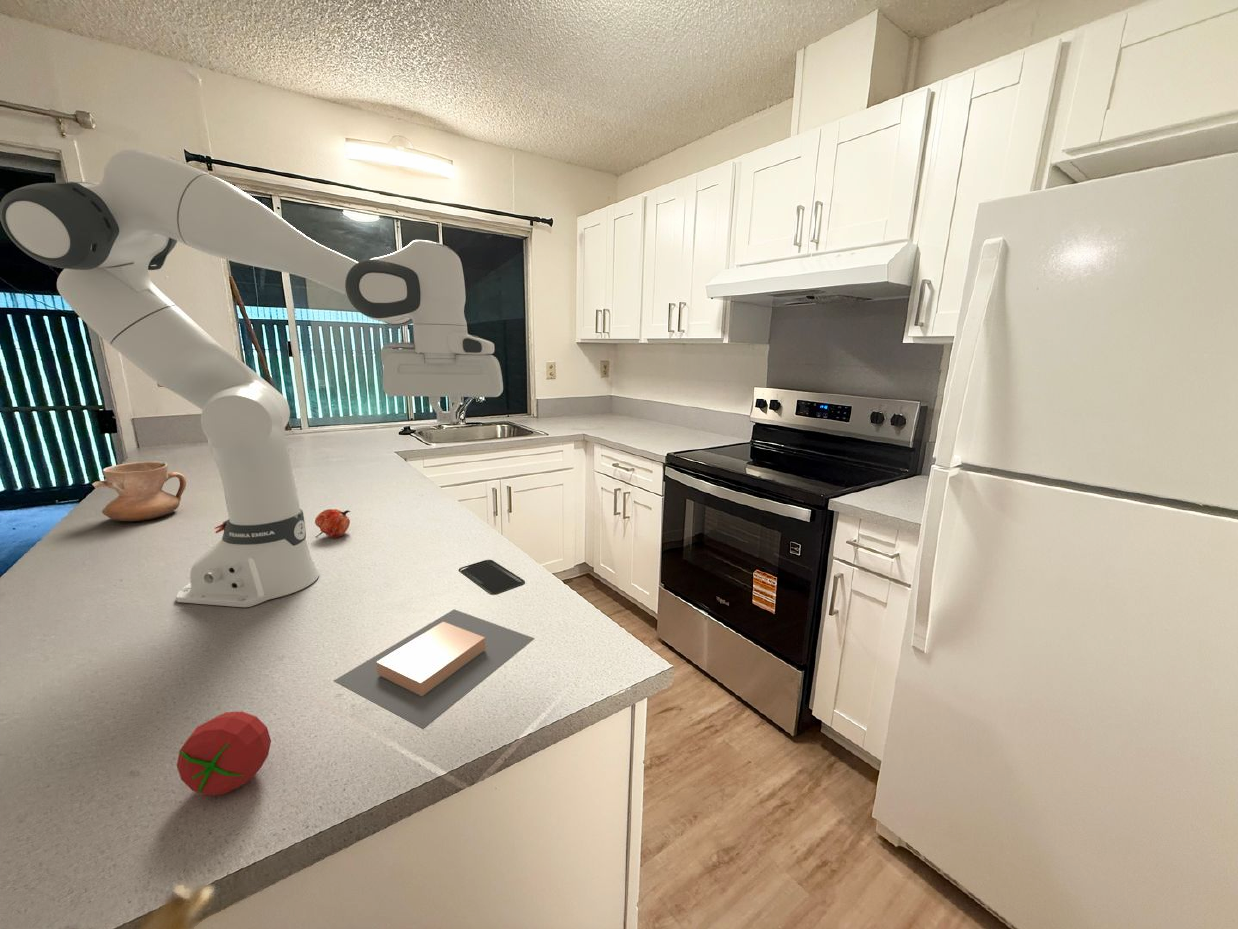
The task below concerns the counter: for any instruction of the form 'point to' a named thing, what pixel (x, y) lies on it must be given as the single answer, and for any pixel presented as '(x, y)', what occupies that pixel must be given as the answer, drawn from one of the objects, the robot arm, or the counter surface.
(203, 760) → the tomato
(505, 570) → the phone
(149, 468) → the ceramic jug
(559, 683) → the counter surface
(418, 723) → the mat
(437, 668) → the tile
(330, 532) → the pomegranate
